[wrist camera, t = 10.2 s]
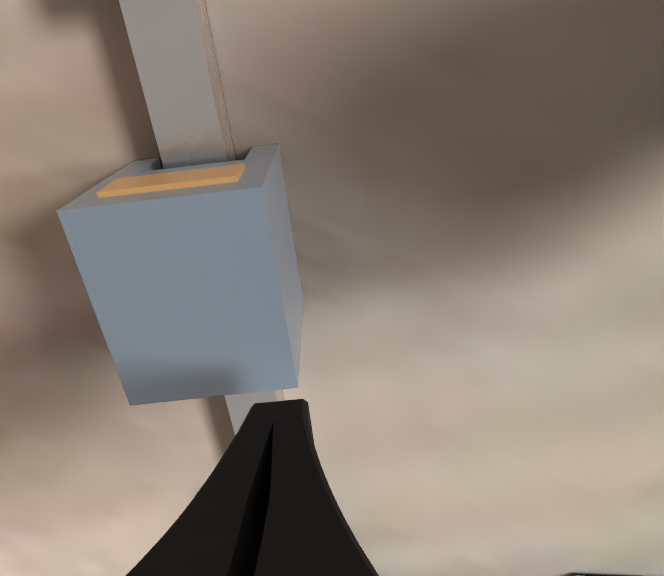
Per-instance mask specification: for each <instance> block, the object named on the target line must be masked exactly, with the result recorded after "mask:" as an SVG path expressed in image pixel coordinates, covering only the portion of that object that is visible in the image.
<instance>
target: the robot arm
mask: <svg viewBox="0 0 664 576" xmlns="http://www.w3.org/2000/svg"><path fill="white" fill-rule="evenodd" d="M126 576H379V575H378V574H377V572H376V571H375V569H374V567H373V566H372V564H371V563H370V561H369V559H368V558H367V556H366V555H365V553H364V551H363V550H362V548H361V547H360V545H359V543H358V542H357V540H356V538H355V536H354V535H353V533H352V531H351V529H350V527H349V526H348V524H347V522H346V520H345V518H344V516H343V514H342V512H341V510H340V508H339V506H338V504H337V502H336V500H335V498H334V496H333V493H332V491H331V489H330V487H329V484H328V482H327V479H326V477H325V475H324V472H323V469H322V467H321V464H320V461H319V458H318V455H317V452H316V449H315V446H314V439H313V433H312V426H311V419H310V413H309V406H308V402H307V401H305V400H304V399H297V400H286V401H274V402H263V403H255V404H254V405H253V406H252V407H251V408H250V410H249V412H248V414H247V416H246V418H245V420H244V421H243V423H242V425H241V427H240V429H239V430H238V432H237V434H236V435H235V437H234V439H233V440H232V442H231V444H230V445H229V447H228V449H227V450H226V452H225V453H224V455H223V456H222V458H221V460H220V461H219V463H218V464H217V466H216V467H215V469H214V470H213V472H212V473H211V475H210V476H209V478H208V479H207V480H206V482H205V483H204V485H203V486H202V487H201V489H200V490H199V492H198V493H197V494H196V496H195V497H194V499H193V500H192V501H191V502H190V504H189V505H188V506H187V508H186V509H185V510H184V511H183V513H182V514H181V515H180V516H179V518H178V519H177V520H176V521H175V522H174V524H173V525H172V526H171V527H170V528H169V530H168V531H167V532H166V533H165V534H164V535H163V537H162V538H161V539H160V540H159V541H158V542H157V543H156V544H155V545H154V546H153V548H152V549H151V550H150V551H149V552H148V553H147V554H146V555H145V556H144V557H143V558H142V560H141V561H140V562H139V563H138V564H137V565H136V566H135V567H134V568H133V569H132V570H131V571H130V572H129V573H128V574H127V575H126Z"/></svg>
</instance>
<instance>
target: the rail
mask: <svg viewBox="0 0 664 576" xmlns="http://www.w3.org/2000/svg"><path fill="white" fill-rule="evenodd" d="M119 3H120V7H121V11H122V15H123V18H124V22H125V26H126V30H127V33H128V37H129V41H130V45H131V48H132V52H133V56H134V59H135V63H136V67H137V71H138V74H139V78H140V82H141V86H142V89H143V93H144V97H145V101H146V104H147V108H148V112H149V116H150V119H151V123H152V127H153V131H154V134H155V138H156V142H157V145H158V149H159V153H160V157H161V160H162V164H163V168H164V169H169V168H177V167H186V166H194V165H202V164H211V163H219V162H228V161H236V157H235V152H234V147H233V142H232V137H231V132H230V127H229V122H228V117H227V112H226V107H225V102H224V97H223V92H222V87H221V82H220V77H219V71H218V66H217V61H216V56H215V51H214V46H213V41H212V36H211V31H210V26H209V21H208V16H207V11H206V6H205V1H204V0H119ZM224 396H225V400H226V404H227V407H228V411H229V415H230V419H231V422H232V426H233V430H234V433H235V435H236V434H237V432H238V430H239V429H240V427H241V425H242V423H243V421H244V420H245V418H246V416H247V414H248V412H249V410H250V408H251V407H252V406H253V405H254V404H255V403H263V402H274V401H284V398H283V393H282V389H281V390H271V391H262V392H252V393H243V394H233V395H224Z"/></svg>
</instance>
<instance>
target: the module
mask: <svg viewBox="0 0 664 576" xmlns="http://www.w3.org/2000/svg"><path fill="white" fill-rule="evenodd" d="M56 212H57V214H58V217H59V219H60V222H61V225H62V227H63V230H64V233H65V235H66V238H67V240H68V243H69V246H70V248H71V251H72V254H73V256H74V259H75V262H76V264H77V267H78V269H79V272H80V275H81V277H82V280H83V283H84V285H85V288H86V290H87V293H88V296H89V298H90V301H91V304H92V306H93V309H94V312H95V314H96V317H97V319H98V322H99V325H100V327H101V330H102V333H103V335H104V338H105V340H106V343H107V346H108V348H109V351H110V354H111V356H112V359H113V362H114V364H115V367H116V369H117V372H118V375H119V377H120V380H121V383H122V385H123V388H124V390H125V393H126V396H127V398H128V401H129V404H130V405H138V404H148V403H157V402H167V401H176V400H186V399H195V398H205V397H214V396H224V395H233V394H243V393H252V392H262V391H271V390H281V389H290V388H298V379H299V362H300V345H301V328H302V311H303V295H302V289H301V282H300V276H299V270H298V263H297V257H296V250H295V244H294V238H293V231H292V225H291V218H290V212H289V206H288V199H287V193H286V187H285V180H284V174H283V167H282V161H281V155H280V148H279V144H271V145H263V146H255V147H252V148H251V150H250V151H249V153H248V155H247V156H246V158H245V160H236V161H228V162H219V163H211V164H202V165H194V166H186V167H177V168H169V169H162V166H161V163H160V159H159V158H154V159H146V160H137V161H132V162H131V163H129V164H128V165H126V166H125V167H123V168H122V169H120V170H119V171H117V172H116V173H114V174H112V175H111V176H109V177H108V178H106V179H105V180H103V181H102V182H100V183H99V184H97V185H96V186H94V187H92V188H91V189H89V190H88V191H86V192H85V193H83V194H82V195H80V196H79V197H77V198H76V199H74V200H72V201H71V202H69V203H68V204H66V205H65V206H63V207H62V208H60V209H59V210H57V211H56Z"/></svg>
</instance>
